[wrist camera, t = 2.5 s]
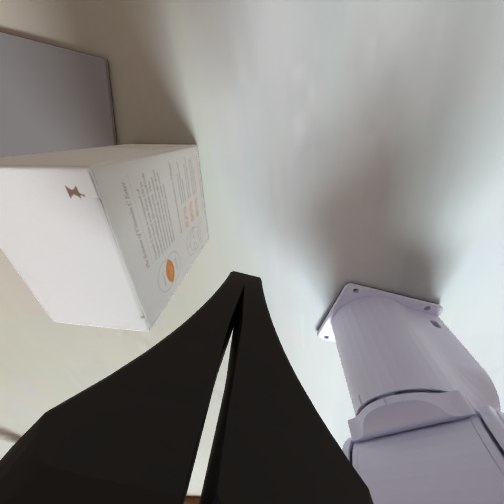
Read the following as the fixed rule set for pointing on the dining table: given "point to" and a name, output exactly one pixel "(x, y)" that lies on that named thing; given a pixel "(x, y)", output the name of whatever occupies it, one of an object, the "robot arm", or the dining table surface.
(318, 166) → the dining table surface
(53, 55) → the mat
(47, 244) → the small box
